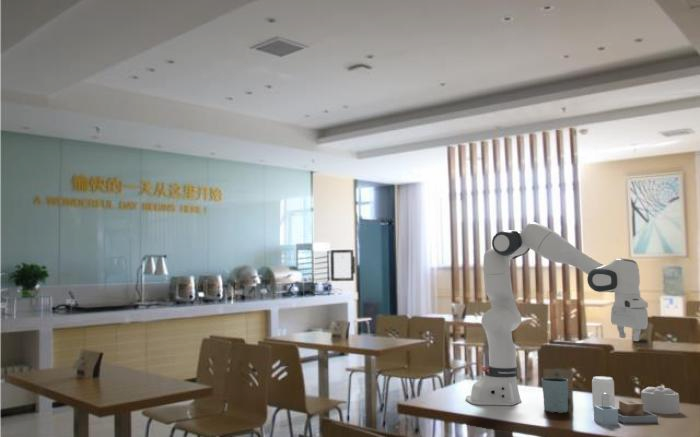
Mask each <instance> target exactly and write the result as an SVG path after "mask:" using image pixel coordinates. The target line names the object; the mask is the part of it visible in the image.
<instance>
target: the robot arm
mask: <svg viewBox="0 0 700 437" xmlns="http://www.w3.org/2000/svg"><path fill="white" fill-rule="evenodd" d="M491 245H492V246H491V247H492V248H490V249H488V250H486V251H485V252H484V255H483V264H482V265H483V279H484V289H485V295H486V296H487V298H488V301H489V302H490V306H491V308H490V309H488V310H486V311H485V313H484V314H483V315H482V317H481V326H482V328H483V329H484V331H485V335H486V339H487V344H488V359H489V360H488V361H489V362H488V363H489V364H488V366H484V365H483V366H482V367H481V371H482V372H484V375H483V376H482V377H481V378H479V379H478V380H477V381H476V382H474V383H473V384H472V387H471V391H470V392H471V393H470V394H469V395H466V397H465V401H466V402H468V403H470V404H473V405H479V406H480V405H481V406H514V405H516V404H520V403H522V400H521V396H520V391H519V387H518V385H519V384H518V379H519V371H518V370H519V369H518V366H517V348H516V346H515V344H514V340H513V336H512V332H513V331H515V330H517V329H518V327H519V326H520V325H521V323H522V315H521V313H520V311H519V309H518V307H517V303H516V300H515V296H514V291H513V286H512V277H511V268H510V263H511V260H515V259H517V258H519V257H522V256H524V255H526V254H527V253H528V252H529V251H530V250H532V251H534V253H536V254H537V255H539V256H541V257H543V258H544V259H546V260H548V261H550V262H553V263H558V264H559V263H560V264H565V265H568V266H569V265H570V266H572V267H574V268H577V269H578V270H580V271H582V272H583V273H585V274H586V275H587V284H588V287H589V288H590V289H591V290H593V291H594V292H597V293H614V303H613V304H612V306H611V311H610V312H611V313H610V322H611V325H614V326H616V328H617V331H618V335H619V336H618V337H619V338H620V339H625V338H626V336H627V334H626V332H625V328H629V329H632V331H633V335H632V336H631V337H632V338H631V339H632V341H633V342H634V341H635V342H639V341H640V335H641V333H642V330H646V329H647V328H648V325H649V321H648V320H649V318H648V317H649V316H648V315H649V314H648V310H647V309H648V308H649V303H648V301H646V300H645V299H643V297H641V291H640V283H641V281H640V280H641V277H640V276H641V275H640V269H639V265H638V263H637V262H636V261H635V260H633V259H630V258H622V257H618V258H615V259H614V260H613V261H611V262H609V263H606V264H602V263H601V262H599V261H597V260H595V259H593V258H592V257H590V256H588V255H587V254H585V253H584V252H582V251H580V250H579V249H578V248H576V247H575V246H574V245H573V244H571V243H570V242H569V241H568V240H567V239H565V238H564V237H563V236H561V235H560V234H558V232H556V231H554V230H553V229H550V228H549V227H547V226H545V225H543V224H541V223H538V222H535V221H534V222H533V221H532V222H529V223H527V224H526V225H525V226H524V227H523V228H522V229H521V230H515V229H509V230H507V229H506V230H505V229H504V230H500V231H498V232H497V233H496V234H494V236H493V237H492V240H491Z"/></svg>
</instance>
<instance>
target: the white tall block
mask: <svg viewBox="0 0 700 437" xmlns="http://www.w3.org/2000/svg"><path fill="white" fill-rule="evenodd" d="M591 390H592V392H591V393H592V396H591V397H592V407H593V408H594V406H602V396H601V393H609V404H610V406H612V407H614V408H616V405H615V404H616V402H615V380H614V379H613V377H611V376H604V375H603V376H602V375H599V376H593V377H592V380H591Z"/></svg>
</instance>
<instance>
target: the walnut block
mask: <svg viewBox="0 0 700 437" xmlns="http://www.w3.org/2000/svg"><path fill="white" fill-rule="evenodd" d="M618 407H619V408H618V409H619V414H620V415H622V416H644V412H643V404H642V402H639V401H637V400H619V401H618Z"/></svg>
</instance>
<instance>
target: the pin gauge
mask: <svg viewBox="0 0 700 437" xmlns="http://www.w3.org/2000/svg"><path fill="white" fill-rule="evenodd" d="M601 396H602V409H610V404H609V393H601Z"/></svg>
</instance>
